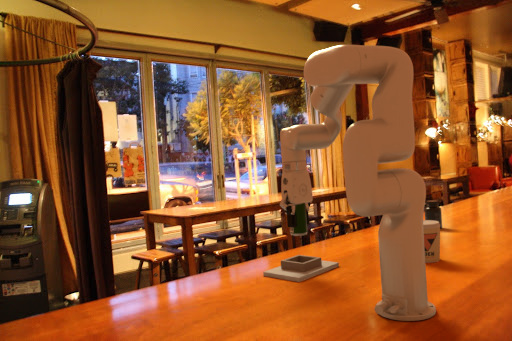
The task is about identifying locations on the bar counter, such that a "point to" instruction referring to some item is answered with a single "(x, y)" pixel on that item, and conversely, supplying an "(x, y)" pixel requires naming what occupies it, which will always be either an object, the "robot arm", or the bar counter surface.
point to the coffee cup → (431, 240)
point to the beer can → (300, 220)
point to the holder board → (300, 268)
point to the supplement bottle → (433, 212)
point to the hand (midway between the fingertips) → (298, 224)
